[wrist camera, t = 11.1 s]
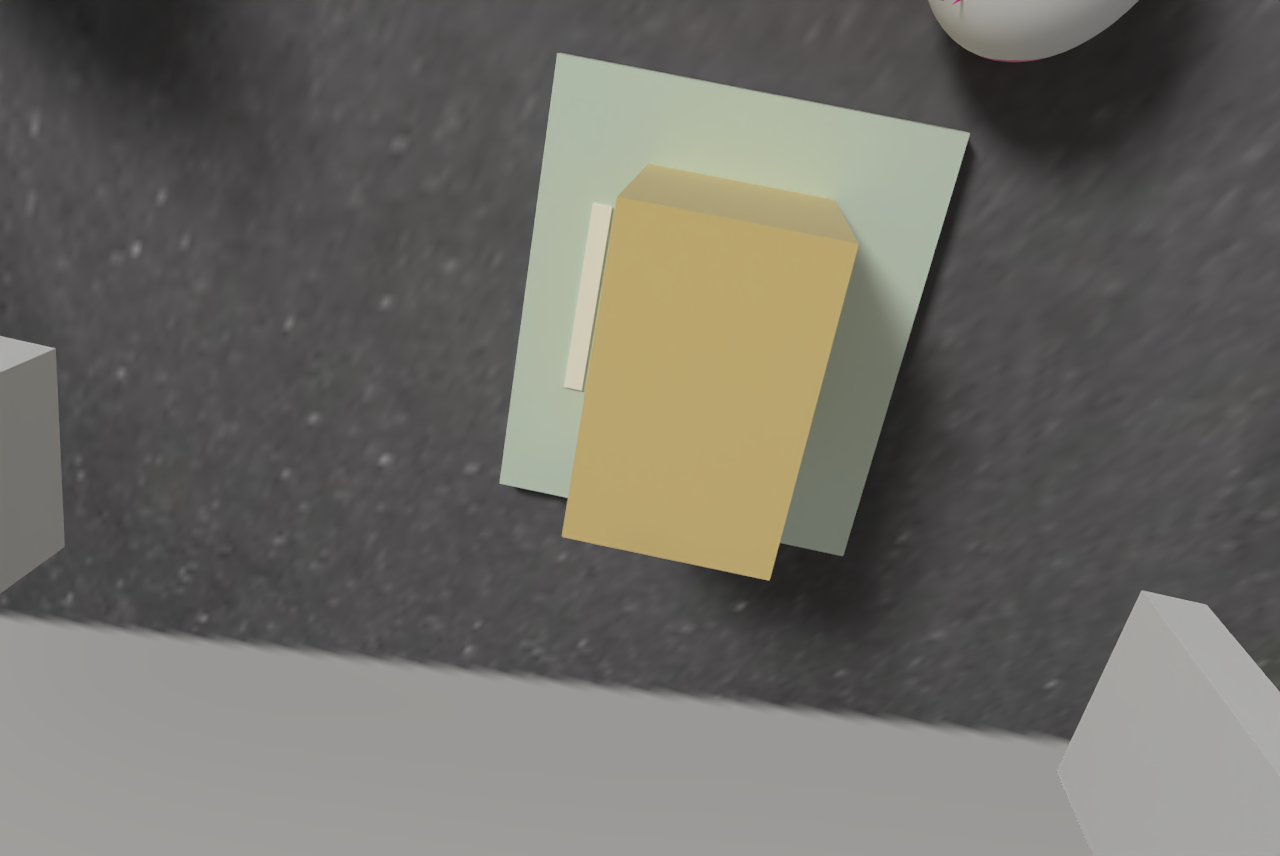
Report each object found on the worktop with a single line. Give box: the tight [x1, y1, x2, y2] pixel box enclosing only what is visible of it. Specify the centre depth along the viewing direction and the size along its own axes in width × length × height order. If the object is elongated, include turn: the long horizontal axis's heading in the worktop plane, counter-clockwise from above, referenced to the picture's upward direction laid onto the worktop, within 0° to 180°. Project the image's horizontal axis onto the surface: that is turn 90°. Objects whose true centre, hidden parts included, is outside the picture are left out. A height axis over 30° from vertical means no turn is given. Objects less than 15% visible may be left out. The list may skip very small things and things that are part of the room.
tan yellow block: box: [562, 164, 859, 581], centre depth 26 cm, size 6×9×7 cm, turn 170°
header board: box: [499, 53, 970, 556], centre depth 28 cm, size 12×14×5 cm
